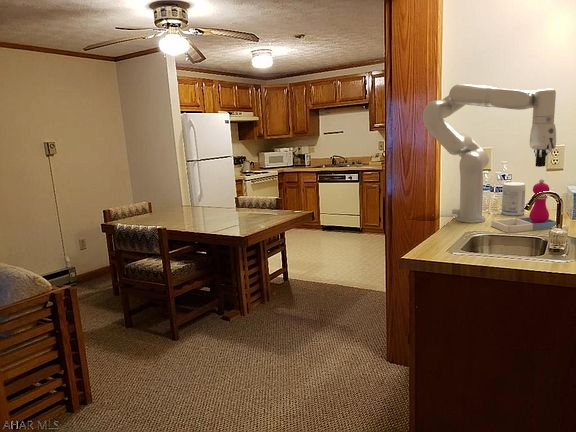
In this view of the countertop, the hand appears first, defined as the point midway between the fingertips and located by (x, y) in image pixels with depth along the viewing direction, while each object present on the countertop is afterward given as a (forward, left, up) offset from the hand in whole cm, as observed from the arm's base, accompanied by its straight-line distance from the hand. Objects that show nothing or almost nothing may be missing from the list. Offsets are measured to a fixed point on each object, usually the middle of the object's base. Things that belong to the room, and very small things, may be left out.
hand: (540, 166), depth 174 cm
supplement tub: (-16, +17, -26) cm, 35 cm away
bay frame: (-3, -4, -25) cm, 26 cm away
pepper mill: (+1, 0, -26) cm, 26 cm away
